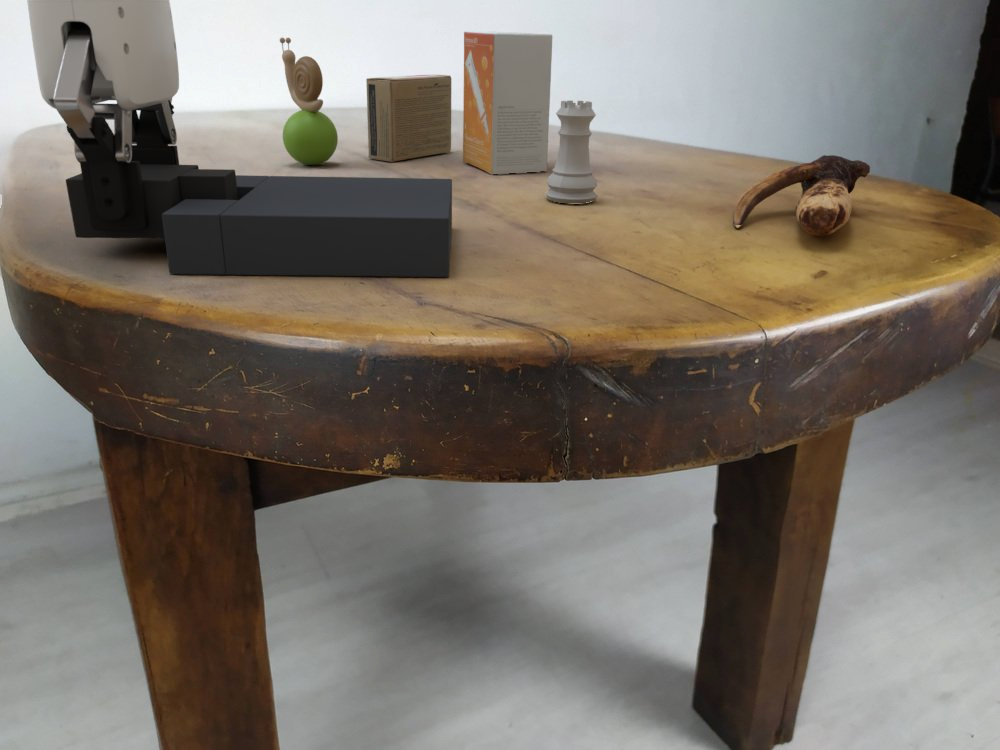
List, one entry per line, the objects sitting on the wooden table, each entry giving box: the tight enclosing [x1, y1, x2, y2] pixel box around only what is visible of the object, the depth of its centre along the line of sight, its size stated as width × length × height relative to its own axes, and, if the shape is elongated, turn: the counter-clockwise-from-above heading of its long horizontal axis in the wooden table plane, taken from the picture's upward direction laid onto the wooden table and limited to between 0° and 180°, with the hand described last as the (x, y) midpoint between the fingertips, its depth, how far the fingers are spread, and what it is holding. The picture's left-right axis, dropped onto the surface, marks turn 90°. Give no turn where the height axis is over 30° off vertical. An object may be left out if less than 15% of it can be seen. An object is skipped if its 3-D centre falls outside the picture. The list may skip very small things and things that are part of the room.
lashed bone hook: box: [732, 154, 871, 237], centre depth 64 cm, size 9×5×18 cm
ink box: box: [365, 74, 452, 163], centre depth 91 cm, size 10×4×8 cm, turn 144°
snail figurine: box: [279, 37, 339, 166], centre depth 83 cm, size 5×6×12 cm
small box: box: [462, 31, 553, 176], centre depth 84 cm, size 8×6×13 cm
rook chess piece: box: [544, 100, 598, 204], centre depth 69 cm, size 4×4×8 cm
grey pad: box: [162, 174, 453, 278], centre depth 53 cm, size 16×13×4 cm
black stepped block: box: [65, 164, 238, 239], centre depth 52 cm, size 9×6×4 cm
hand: (140, 214), depth 53 cm, fingers closed on black stepped block, 6 cm apart
